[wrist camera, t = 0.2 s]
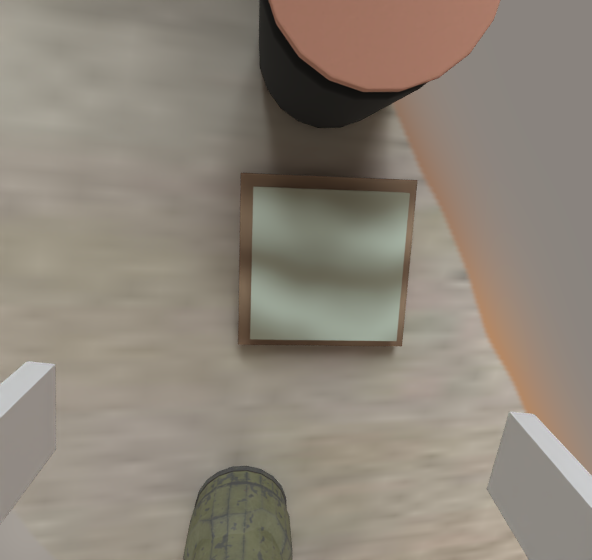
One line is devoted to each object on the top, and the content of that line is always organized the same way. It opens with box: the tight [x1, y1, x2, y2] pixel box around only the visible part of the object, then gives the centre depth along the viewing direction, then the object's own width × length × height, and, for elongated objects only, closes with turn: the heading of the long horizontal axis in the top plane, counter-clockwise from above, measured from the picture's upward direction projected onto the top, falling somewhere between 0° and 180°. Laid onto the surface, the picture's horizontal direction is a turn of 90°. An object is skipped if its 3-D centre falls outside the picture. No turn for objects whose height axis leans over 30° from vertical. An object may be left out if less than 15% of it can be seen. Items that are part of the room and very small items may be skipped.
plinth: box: [238, 173, 417, 346], centre depth 39 cm, size 14×14×4 cm
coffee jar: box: [259, 0, 500, 128], centre depth 28 cm, size 11×11×18 cm
